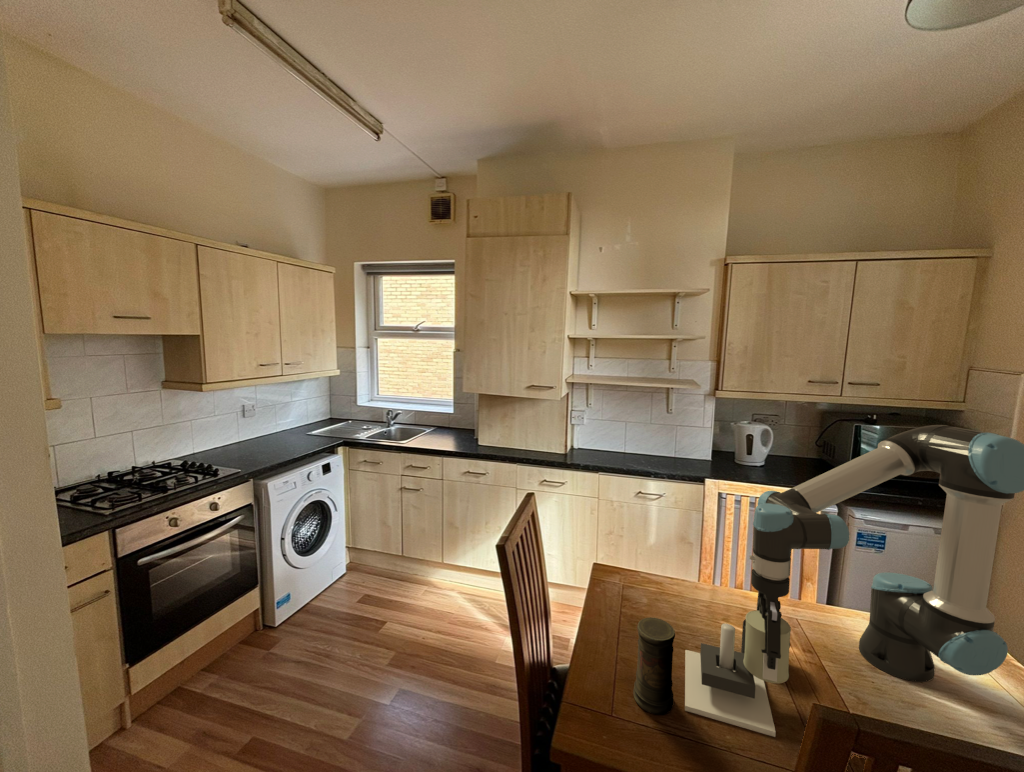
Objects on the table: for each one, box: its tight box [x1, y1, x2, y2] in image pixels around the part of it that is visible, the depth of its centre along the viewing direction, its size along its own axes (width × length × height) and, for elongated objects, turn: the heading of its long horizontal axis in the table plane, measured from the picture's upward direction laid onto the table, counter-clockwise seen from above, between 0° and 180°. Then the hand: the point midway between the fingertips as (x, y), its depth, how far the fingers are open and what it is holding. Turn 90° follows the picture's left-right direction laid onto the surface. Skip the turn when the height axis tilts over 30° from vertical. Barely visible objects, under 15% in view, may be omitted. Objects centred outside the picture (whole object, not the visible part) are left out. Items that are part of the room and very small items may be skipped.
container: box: [633, 616, 676, 716], centre depth 102 cm, size 9×9×18 cm
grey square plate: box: [699, 642, 755, 699], centre depth 105 cm, size 11×11×3 cm
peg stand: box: [684, 623, 776, 738], centre depth 105 cm, size 18×20×16 cm
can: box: [743, 610, 792, 684], centre depth 101 cm, size 9×9×12 cm
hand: (766, 664), depth 102 cm, fingers closed on can, 9 cm apart
